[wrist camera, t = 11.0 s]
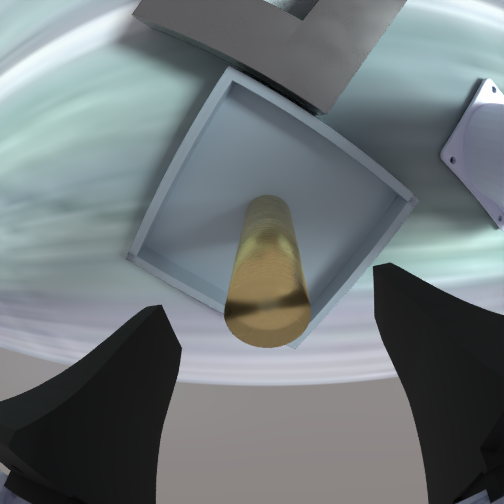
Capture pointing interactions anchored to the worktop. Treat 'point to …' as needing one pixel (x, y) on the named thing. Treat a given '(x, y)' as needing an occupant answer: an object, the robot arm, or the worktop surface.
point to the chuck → (281, 40)
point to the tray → (267, 183)
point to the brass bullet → (267, 278)
